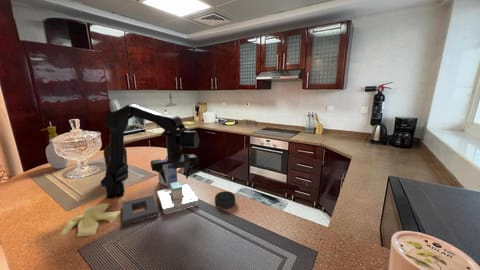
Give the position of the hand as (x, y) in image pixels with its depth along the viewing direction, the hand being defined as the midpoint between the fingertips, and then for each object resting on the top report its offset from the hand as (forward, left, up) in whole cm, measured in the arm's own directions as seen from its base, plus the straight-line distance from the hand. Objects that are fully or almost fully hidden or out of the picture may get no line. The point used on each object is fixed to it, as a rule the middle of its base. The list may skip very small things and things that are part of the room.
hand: (176, 180), depth 86 cm
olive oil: (-23, +40, -10) cm, 47 cm away
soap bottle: (-56, +76, -10) cm, 95 cm away
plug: (0, 0, -10) cm, 10 cm away
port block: (0, 0, -10) cm, 10 cm away
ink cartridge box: (0, +20, -10) cm, 23 cm away
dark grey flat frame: (-15, 0, -10) cm, 18 cm away
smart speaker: (+18, -12, -11) cm, 24 cm away
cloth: (-32, +2, -11) cm, 34 cm away
